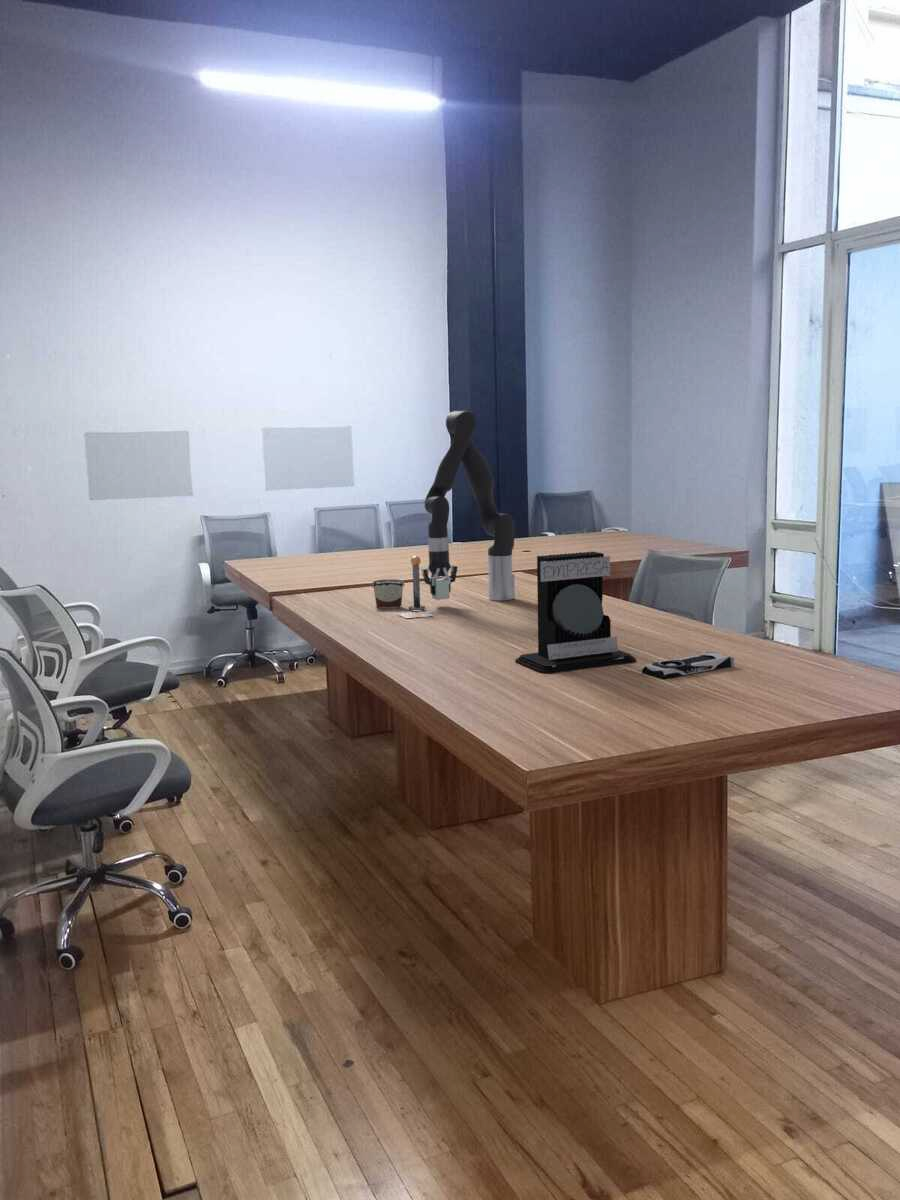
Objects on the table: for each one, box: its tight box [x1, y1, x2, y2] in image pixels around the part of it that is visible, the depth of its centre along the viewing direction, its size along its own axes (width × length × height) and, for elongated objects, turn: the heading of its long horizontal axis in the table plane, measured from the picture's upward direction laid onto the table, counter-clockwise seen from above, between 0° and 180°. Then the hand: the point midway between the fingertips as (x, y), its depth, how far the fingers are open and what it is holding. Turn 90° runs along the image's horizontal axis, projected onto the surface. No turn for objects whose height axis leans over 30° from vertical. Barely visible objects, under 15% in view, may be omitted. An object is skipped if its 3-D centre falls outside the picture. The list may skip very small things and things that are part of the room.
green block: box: [431, 577, 450, 601], centre depth 379 cm, size 5×5×7 cm
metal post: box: [408, 555, 426, 611], centre depth 373 cm, size 6×6×20 cm
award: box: [514, 551, 637, 674], centre depth 282 cm, size 30×19×30 cm, turn 114°
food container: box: [371, 578, 405, 608], centre depth 383 cm, size 12×6×10 cm, turn 84°
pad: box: [397, 611, 434, 619], centre depth 362 cm, size 10×10×1 cm
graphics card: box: [641, 651, 735, 680], centre depth 271 cm, size 10×3×25 cm
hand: (440, 594), depth 380 cm, fingers closed on green block, 5 cm apart
